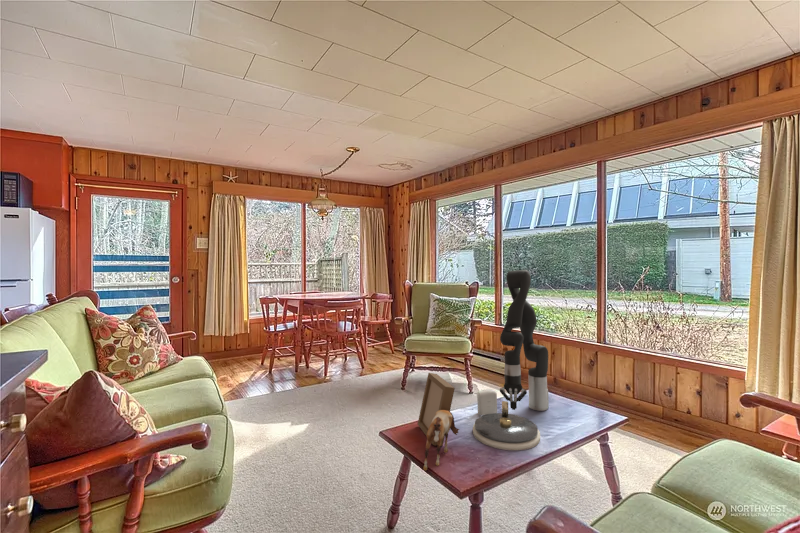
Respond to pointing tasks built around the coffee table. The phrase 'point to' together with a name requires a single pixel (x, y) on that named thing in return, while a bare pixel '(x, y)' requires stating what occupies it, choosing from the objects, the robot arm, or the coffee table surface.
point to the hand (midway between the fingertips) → (513, 409)
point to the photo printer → (487, 401)
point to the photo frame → (434, 401)
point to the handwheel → (506, 427)
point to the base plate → (506, 445)
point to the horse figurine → (439, 432)
